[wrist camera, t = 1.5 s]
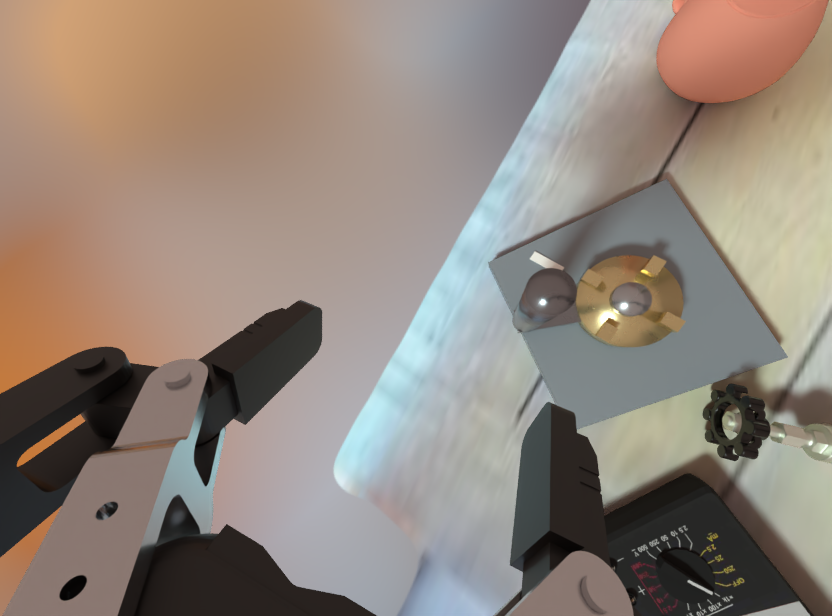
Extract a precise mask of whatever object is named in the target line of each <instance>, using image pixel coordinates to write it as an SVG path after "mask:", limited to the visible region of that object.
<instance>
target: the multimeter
mask: <svg viewBox="0 0 832 616" xmlns="http://www.w3.org/2000/svg"><path fill="white" fill-rule="evenodd" d="M604 519H605V527H606V535H607V543H608V551H609V558H610V564H611V567H612V570H613V571H614V572H615V573H616V575H617V576H618V577H619V579H620V580H621V582H622V584H623V585H624V587H625V589H626V591H627V593H628V596H629V598H630V601H631V604H632V605H633V606H634V607H635V608H636V609H637V611H638V612H639V613H640V614H642V615H643V616H814V615H813V614H812V613H811V612H810V610H809V609H808V608H807V607H806V605H805V604H804V603H803V602H802V600H801V599H800V598H799V597H798V595H797V594H796V593H795V592H794V590H793V589H792V588H791V586H790V585H789V584H788V583H787V581H786V580H785V579H784V578H783V576H782V575H781V574H780V573H779V571H778V570H777V569H776V568H775V566H774V565H773V564H772V563H771V561H770V560H769V559H768V557H767V556H766V555H765V554H764V552H763V551H762V550H761V549H760V547H759V546H758V545H757V544H756V542H755V541H754V540H753V539H752V537H751V536H750V535H749V534H748V532H747V531H746V530H745V528H744V527H743V526H742V525H741V523H740V522H739V521H738V520H737V518H736V517H735V516H734V515H733V513H732V512H731V511H730V510H729V508H728V507H727V506H726V505H725V503H724V502H723V501H722V499H721V498H720V497H719V496H718V494H717V493H716V492H715V491H714V489H713V488H711V487H710V486H709V485H707V484H706V483H705V482H703V481H702V480H701V479H699V478H698V477H696V476H694V475H692V474H685V475H683V476H681V477H679V478H677V479H675V480H673V481H671V482H669V483H667V484H665V485H663V486H661V487H660V488H658V489H656V490H654V491H652V492H650V493H648V494H646V495H644V496H642V497H640V498H638V499H636V500H634V501H632V502H631V503H629V504H627V505H625V506H623V507H621V508H619V509H617V510H615V511H613V512H611V513H609V514H607V515H605V516H604Z"/></svg>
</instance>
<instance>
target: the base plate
mask: <svg viewBox="0 0 832 616" xmlns="http://www.w3.org/2000/svg"><path fill="white" fill-rule="evenodd" d="M623 255H633V256H640V257H644V258H648V259H649V258H650V257H652V256H653V255H655V256H657V257H659V258H661V259H663V260H665V261H667V262H666V263H665V265H664V266H663V267H665V268H666V269H667V270H668V271H669V272H670V273H671V274H672V275H673V276H674V277H675V279H676V280H677V282H678V284H679V286H680V288H681V290H682V295H683V302H684V303H683V312H682V316H681V319H683V320H685V321H686V322H685V323H684V325H683V326H682V327H681V329H680V330H679V332H675V333H673V332H671V333H670V334H668V335H667V336H666V337H664V338H663V339H662V340H660V341H658V342H656V343H653V344H650V345H647V346H642V347H614V346H610V345H606V344H603V343H601V342H599V341H597V340H595V339H594V338H592V337H591V336H589V335H588V334H587V333H586V332H585V331H584V330H583V329H582V328H581V326H580V325H579V323H573V324H567V325H561V326H556V327H550V328H544V329H538V330H533V331H531V332H527V333H524V332H521V334H522V336H523V338H524V340H525V342H526V344H527V346H528V348H529V350H530V352H531V354H532V357H533V359H534V361H535V363H536V365H537V367H538V369H539V371H540V373H541V375H542V377H543V379H544V381H545V383H546V385H547V387H548V390H549V392H550V394H551V396H552V398H553V400H554V402H555V404H556V405H557V406H559V407H562V408H564V409H567V410H569V411H572V412H574V414H575V416H576V428H577V429H580V428H583V427H585V426H588V425H591V424H594V423H597V422H600V421H603V420H606V419H609V418H612V417H615V416H618V415H621V414H624V413H626V412H629V411H632V410H635V409H638V408H641V407H644V406H647V405H650V404H653V403H656V402H659V401H662V400H664V399H667V398H670V397H673V396H676V395H679V394H682V393H685V392H688V391H691V390H694V389H697V388H700V387H702V386H705V385H708V384H711V383H714V382H717V381H720V380H723V379H726V378H729V377H732V376H735V375H738V374H740V373H743V372H746V371H749V370H752V369H755V368H758V367H761V366H764V365H767V364H770V363H773V362H776V361H778V360H781V359H784V358H787V357H788V356H787V355H786V353H785V352H784V350H783V349H782V347H781V346H780V345H779V343H778V342H777V340H776V339H775V337H774V336H773V334H772V333H771V331H770V330H769V328H768V327H767V325H766V324H765V322H764V321H763V320H762V318H761V317H760V315H759V314H758V312H757V311H756V309H755V308H754V306H753V305H752V303H751V302H750V300H749V299H748V298H747V296H746V295H745V293H744V292H743V290H742V289H741V287H740V286H739V284H738V283H737V281H736V280H735V278H734V277H733V275H732V274H731V273H730V271H729V270H728V268H727V267H726V265H725V264H724V262H723V261H722V259H721V258H720V256H719V255H718V253H717V252H716V251H715V249H714V248H713V246H712V245H711V243H710V242H709V240H708V239H707V237H706V236H705V234H704V233H703V231H702V230H701V228H700V227H699V226H698V224H697V223H696V221H695V220H694V218H693V217H692V215H691V214H690V212H689V211H688V209H687V208H686V206H685V205H684V204H683V202H682V201H681V199H680V198H679V196H678V195H677V193H676V192H675V190H674V189H673V187H672V186H671V184H670V183H669V181H668V180H667V179H665V180H663V181H661V182H659V183H656V184H654V185H652V186H650V187H648V188H646V189H644V190H642V191H639V192H637V193H635V194H633V195H631V196H629V197H627V198H625V199H622V200H620V201H618V202H616V203H614V204H612V205H610V206H608V207H605V208H603V209H601V210H599V211H597V212H595V213H593V214H590V215H588V216H586V217H584V218H582V219H580V220H578V221H576V222H573V223H571V224H569V225H567V226H565V227H563V228H561V229H559V230H556V231H554V232H552V233H550V234H548V235H546V236H544V237H542V238H539V239H537V240H535V241H533V242H531V243H529V244H527V245H525V246H522V247H520V248H518V249H516V250H514V251H512V252H510V253H508V254H505V255H503V256H501V257H499V258H497V259H495V260H493V261H490V262H488V263H489V268H490V270H491V272H492V274H493V276H494V278H495V280H496V282H497V284H498V286H499V288H500V290H501V293H502V295H503V297H504V299H505V301H506V303H507V305H508V307H509V309H510V311H511V313H512V315H513V316H514V313H513V311H514V310H516V309H517V306H518V304H519V301H520V299H521V297H522V294H523V292H524V289H525V287H526V284H527V282H528V280H529V279H530V277H531V276H532V275H533V274H535V273H536V272H538V271H540V270H542V269H546V268H556V269H560V270H563V271H565V272H566V273H568V274H569V275H570V276H571V277H572V278H573V280H574V282H575V284H576V285H577V283H578V282H579V280H580V279H581V278H582V276H583V275H584V274H585V272H586V271H587V270H588V269H591V268H592V267H594V266H595V265H596V264H598V263H600V262H602V261H604V260H606V259H609V258H612V257H616V256H623Z"/></svg>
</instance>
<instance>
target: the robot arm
mask: <svg viewBox="0 0 832 616" xmlns="http://www.w3.org/2000/svg"><path fill="white" fill-rule="evenodd" d="M321 342H322V310H321V309H320V308H319V307H317V306H314V305H312V304H309V303H307V302H304V301H301V300H300V301H297V302H296V303H294V304H293V305H291V306H290V307H289V308H287V309H283V308H281V309H278V310H275V311H272V312H269V313H266V314H265V315H264V316H262V317H261V318H259V319H258V320H256V321H255V322H254V324H250V325H249V326H247V327H246V328H245V329H244V330H243V331H240V332H239V333H237V334H236V335H234V336H233V337H231V338H230V339H229V340H227V341H226V342H224V343H223V344H221V345H220V346H218V347H217V348H215V349H214V350H213V351H211V352H210V353H208V354H207V355H205V356H204V357H202V358H201V359H199V360H194V359H182V360H176V361H173V362H169V363H167V364H164V365H163V366H161V367H154V366H147V365H139V364H132V363H129V361H128V359H127V357H126V355H125V353H124V352H123V351H122V350H120V349H118V348H113V347H99V348H92V349H88V350H85V351H82V352H79V353H77V354H75V355H72V356H71V357H69V358H67V359H65V360H63V361H61V362H59V363H57V364H55V365H54V366H52V367H50V368H48V369H46V370H44V371H43V372H40V373H39V374H37V375H35V376H33V377H31V378H29V379H27V380H26V381H24V382H22V383H20V384H18V385H16V386H14V387H12V388H11V389H9V390H7V391H5V392H3V393H1V394H0V557H1V556H2V555H4V554H5V553H6V552H7V551H8V550H10V549H11V548H12V547H13V546H14V545H15V544H16V543H18V542H19V541H20V540H21V539H22V538H24V537H25V536H26V535H27V534H28V533H30V532H31V531H32V530H33V529H34V528H36V527H37V526H38V525H39V524H40V523H42V522H43V521H44V520H45V519H46V518H47V517H49V516H50V515H51V514H52V513H53V512H55V511H56V510H57V509H58V508H59V507H60V506H62V507H61V509H60V510H59V512H58V514H57V516H56V518H55V520H54V522H53V524H52V525H51V527H50V529H49V531H48V533H47V534H46V536H45V538H44V540H43V542H42V544H41V545H40V548H39V549H38V551H37V553H36V555H35V557H34V558H33V560H32V562H31V564H30V566H29V568H28V569H27V571H26V573H25V575H24V577H23V579H22V580H21V582H20V584H19V586H18V588H17V590H16V592H15V593H14V595H13V597H12V599H11V601H10V603H9V604H8V606H7V608H6V610H5V612H4V614H3V616H376V615H375V614H373V613H371V612H370V611H368V610H366V609H365V608H363V607H362V606H360V605H358V604H357V603H355V602H353V601H352V600H350V599H348V598H347V597H345V596H341V595H336V594H331V593H326V592H321V591H316V590H311V589H306V588H301V587H297V586H295V585H293V584H292V583H291V582H290V581H289V580H288V578H287V577H286V576H285V574H284V573H283V572H282V570H281V569H280V568H279V567H278V566H277V564H276V563H275V561H274V560H273V559H272V558H271V556H270V555H269V554H268V552H267V551H266V550H265V549H264V547H263V546H261V545H259V544H258V543H257V542H255V541H253V540H252V539H250V538H248V537H247V536H245V535H244V534H241V533H240V532H239V531H237V530H235V529H233V528H232V527H230V526H229V525H227V524H226V526H225V527H224V528H223V529H222V530H221V532H220V533H219V534H210V532H211V526H212V520H213V489H214V484H215V479H216V474H217V469H218V465H219V460H220V455H221V450H222V446H223V441H224V436H225V431H226V427H225V426H226V425H227V424H228V423H229V422H230V421H231V420H232V419H235V420H237V421H239V422H241V423H243V424H245V425H246V424H247V423H248V422H249V421H250V420H251V419H252V418H253V417H254V416H255V415H256V414H257V413H258V412H259V411H260V410H261V409H262V408H263V407H264V406H265V405H266V404H267V403H268V402H269V401H270V400H271V399H272V398H273V397H274V396H275V395H276V394H277V393H278V392H279V391H280V390H281V389H282V388H283V387H284V386H285V385H286V384H287V383H288V382H289V381H290V380H291V379H292V378H293V377H294V376H295V375H296V374H297V373H298V372H299V371H300V369H302V368H303V367H304V366H305V365H306V364H307V363H308V362H309V361H310V360H311V359H312V357H314V356H315V354H316V353H317V352H318V350H319V348H320V345H321ZM79 414H81V415H82V417H83V418H84V419H85V422H84V423H82V424H81V425H79V426H78V427H76V428H75V429H74V430H72V431H71V432H69V433H68V434H67V435H65V436H64V437H62V438H61V439H59V440H58V441H56V442H55V443H54V444H52V445H51V446H49V447H48V448H46V449H45V450H43V451H42V452H41V453H39V454H38V455H36V456H35V457H34V458H32V459H31V460H29V461H28V462H26V463H25V464H23V465H21V466H19V467H17V461H18V460H19V458H20V457H21V455H22V454H23V453H24V452H25V451H26V450H27V449H29V448H30V447H32V446H33V445H35V444H36V443H38V442H39V441H41V440H42V439H44V438H45V437H47V436H48V435H49V434H51V433H53V432H54V431H55V430H57V429H58V428H60V427H61V426H63V425H64V424H66V423H67V422H69V421H70V420H72V419H73V418H75V417H76V416H78V415H79ZM598 476H599V470H598V462H597V456H596V454H595V452H594V450H593V448H592V446H591V444H590V442H589V440H588V437H585V436H583V435H581V434H578V433H577V428H576V416H575V414H574V412H572V411H569V410H567V409H564V408H562V407H559V406H557V405H555V404H552V403H550V402H547V403H546V404H545V405H544V407H543V408H542V410H541V411H540V413H539V414H538V415H537V417H536V418H535V420H534V421H533V423H532V424H531V426H530V427H529V429H528V430H527V432H526V434H525V437H524V440H523V443H522V449H521V459H520V469H519V479H518V489H517V498H516V508H515V518H514V528H513V538H512V548H511V558H510V565H511V566H513V567H515V568H516V569H518V570H520V571H522V572H523V580H522V588H521V589H520V590H519V591H518V592H517V593H516V594H515V595H514V596H513V597H512V598H511V599H510V600H509V601H508V602H507V603H506V604H505V605H504V606H503V607H502V608H501V609H500V610H499V611H497V612H496V613H495V614H494V615H493V616H643V615H642V614H640V613H639V612H638V611H637V609H636V608H635V607H634V606H633V605H632V604H631V601H630V598H629V596H628V593H627V591H626V589H625V587H624V585H623V584H622V582H621V580H620V579H619V577H618V576H617V575H616V573H615V572H614V571H613V570H612V567H611V564H610V558H609V551H608V543H607V535H606V527H605V519H604V511H603V503H602V495H601V494H600V492H601V486H600V479H599V478H598Z"/></svg>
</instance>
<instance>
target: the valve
mask: <svg viewBox="0 0 832 616" xmlns="http://www.w3.org/2000/svg"><path fill="white" fill-rule="evenodd" d="M741 393H746V394H748V390H747V388H746V387H744V386H740V385H735V384H729V385H728V386H727V387H726V392H724V391H719V390H713V391H712V393H711V399H712V400H713V401H714V402H715V405H714V407H713V409H708V408H706V409H704V411H703V418H704V419H705V420H709V421H711V430H707V431H706V433H705V439H706V441H707V442H710V443H714V444H718V445H719V446H718V448H717V452H718V455H719V456H720V457H721V458H725V459H729V460H732V461H737V460H738V458H739V456H742V457H746V458H750V459H756V458H757V457H758V448H760V447H761V445H762V440H765V439H767V438H768V436H770V438H771V440H772V441H775V442H778V443H781V444H785V445H789V446H793V447H797V448H803V450H804V451H805V452H806V454H807V455H808V456H810V457H811V458H813V459H815V460H819V461H823V462H827V463H831V464H832V424H827V423H822V424H810V425H808V426H807V427H805V428H799V427H795V426H791V425H787V424H783V423H778V422H773V423H772V424H771V425H770V424H769V422H768V421H767V420H766V419H765V416H766V414H765V411H764V408H765V403H764V401H763V400H762V399H760V398H755V397H751V396H743V397H742V398H741V397H740V396H741ZM731 404H735V405H736V406H737V407H738V408H739V410H740V412H739V413H733V412H728V411H727V412H726V413H725V414H724V411H725V409H726V408H727V407H728V406H729V405H731ZM753 411H755V412H753ZM723 414H724V415H723ZM722 422H723V425H724V428H725V429H727V430H730V431H734V432H736V433H737V434H738V435H737V436H736V437H735V438H734V439H732V440H729V439H728V438H727V436H726V435H725V433H724V431H723V427H722ZM750 441H751V442H750ZM749 442H750V443H749ZM733 449H734V450H735V453H736V454H737V455H735V454H733ZM738 455H739V456H738Z"/></svg>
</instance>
